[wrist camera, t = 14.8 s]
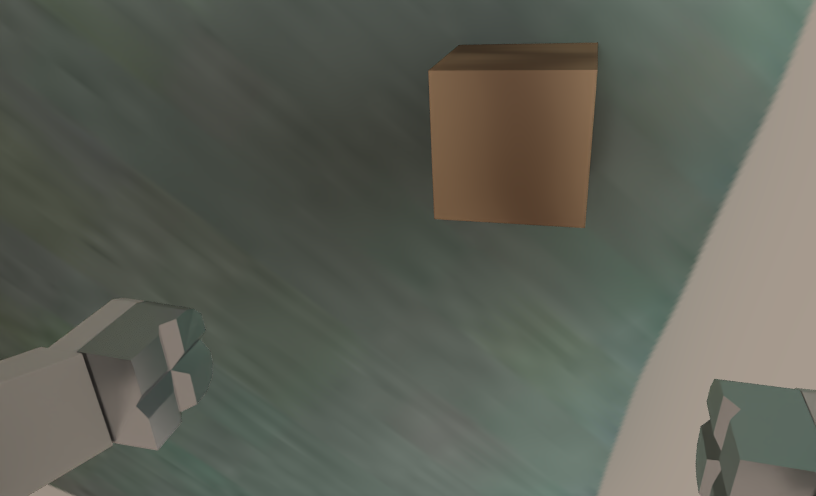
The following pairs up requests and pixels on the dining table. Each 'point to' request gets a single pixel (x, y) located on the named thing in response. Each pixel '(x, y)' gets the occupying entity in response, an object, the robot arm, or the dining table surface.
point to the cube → (513, 132)
